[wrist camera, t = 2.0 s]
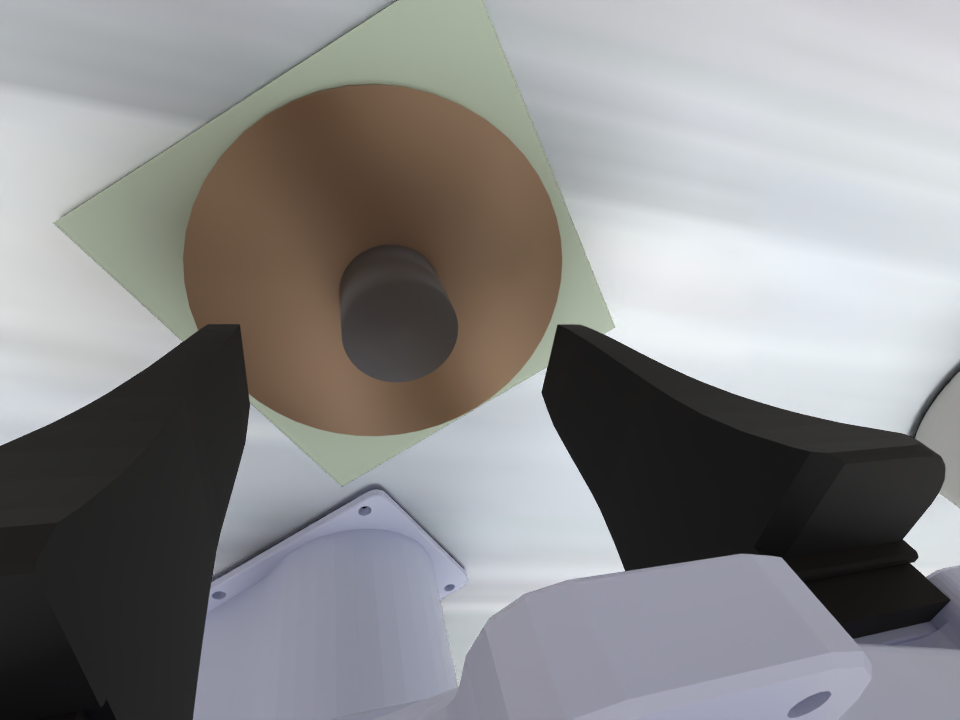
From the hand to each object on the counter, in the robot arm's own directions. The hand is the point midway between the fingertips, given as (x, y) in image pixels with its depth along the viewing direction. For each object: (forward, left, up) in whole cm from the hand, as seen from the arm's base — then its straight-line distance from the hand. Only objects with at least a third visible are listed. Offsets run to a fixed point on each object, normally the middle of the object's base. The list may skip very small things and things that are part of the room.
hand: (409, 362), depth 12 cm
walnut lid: (0, 0, -5) cm, 5 cm away
